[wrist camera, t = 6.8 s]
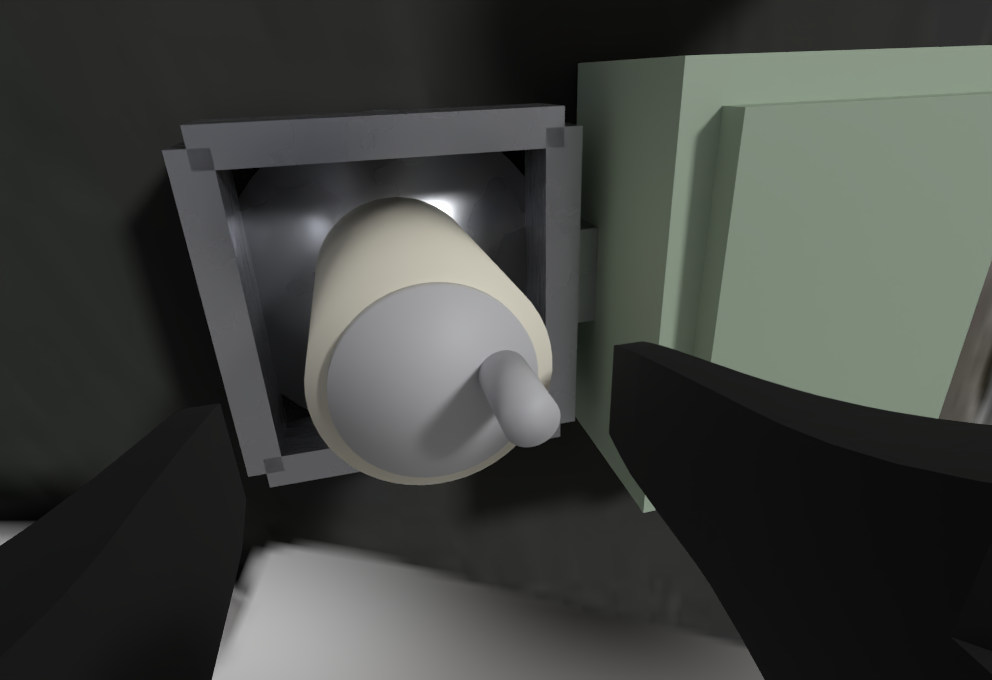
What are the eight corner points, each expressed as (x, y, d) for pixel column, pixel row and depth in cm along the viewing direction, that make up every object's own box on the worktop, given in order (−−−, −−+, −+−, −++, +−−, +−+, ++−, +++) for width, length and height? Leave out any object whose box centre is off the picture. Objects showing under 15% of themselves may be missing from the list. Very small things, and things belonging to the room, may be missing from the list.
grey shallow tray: (263, 434, 20) (251, 490, 17) (187, 118, 15) (155, 126, 13) (590, 383, 22) (625, 425, 19) (601, 98, 18) (648, 101, 15)
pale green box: (569, 435, 23) (653, 563, 17) (578, 63, 17) (707, 53, 11) (789, 396, 25) (934, 498, 19) (860, 53, 19) (1098, 41, 13)
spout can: (336, 365, 18) (337, 589, 10) (296, 211, 16) (258, 334, 8) (485, 334, 19) (598, 517, 11) (465, 184, 17) (588, 271, 9)
